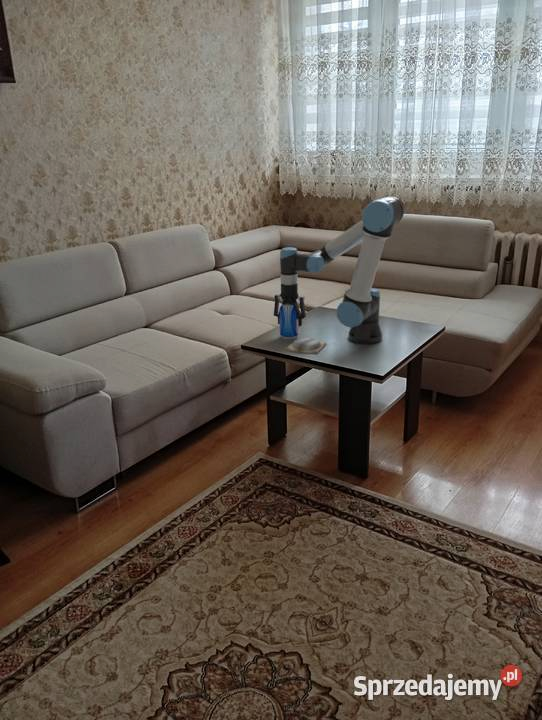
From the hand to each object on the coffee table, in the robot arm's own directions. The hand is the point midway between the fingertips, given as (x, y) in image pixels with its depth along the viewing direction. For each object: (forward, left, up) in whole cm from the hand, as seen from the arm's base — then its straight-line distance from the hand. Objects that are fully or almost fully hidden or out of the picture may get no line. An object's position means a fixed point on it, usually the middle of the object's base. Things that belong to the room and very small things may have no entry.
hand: (290, 331), depth 279 cm
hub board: (-12, +11, -3) cm, 16 cm away
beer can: (0, 0, -3) cm, 3 cm away
